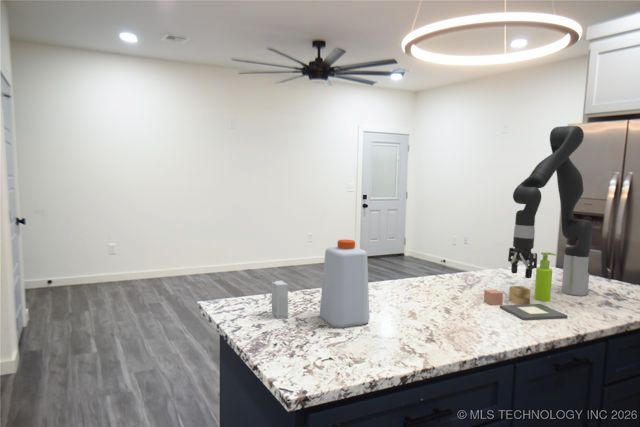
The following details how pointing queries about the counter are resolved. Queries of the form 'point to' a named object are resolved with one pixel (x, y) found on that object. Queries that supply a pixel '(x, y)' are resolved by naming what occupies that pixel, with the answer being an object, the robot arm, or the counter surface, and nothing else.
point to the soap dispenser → (543, 279)
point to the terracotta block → (493, 297)
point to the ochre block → (519, 295)
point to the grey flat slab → (533, 312)
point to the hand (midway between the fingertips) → (520, 275)
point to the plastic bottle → (345, 286)
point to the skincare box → (279, 299)
